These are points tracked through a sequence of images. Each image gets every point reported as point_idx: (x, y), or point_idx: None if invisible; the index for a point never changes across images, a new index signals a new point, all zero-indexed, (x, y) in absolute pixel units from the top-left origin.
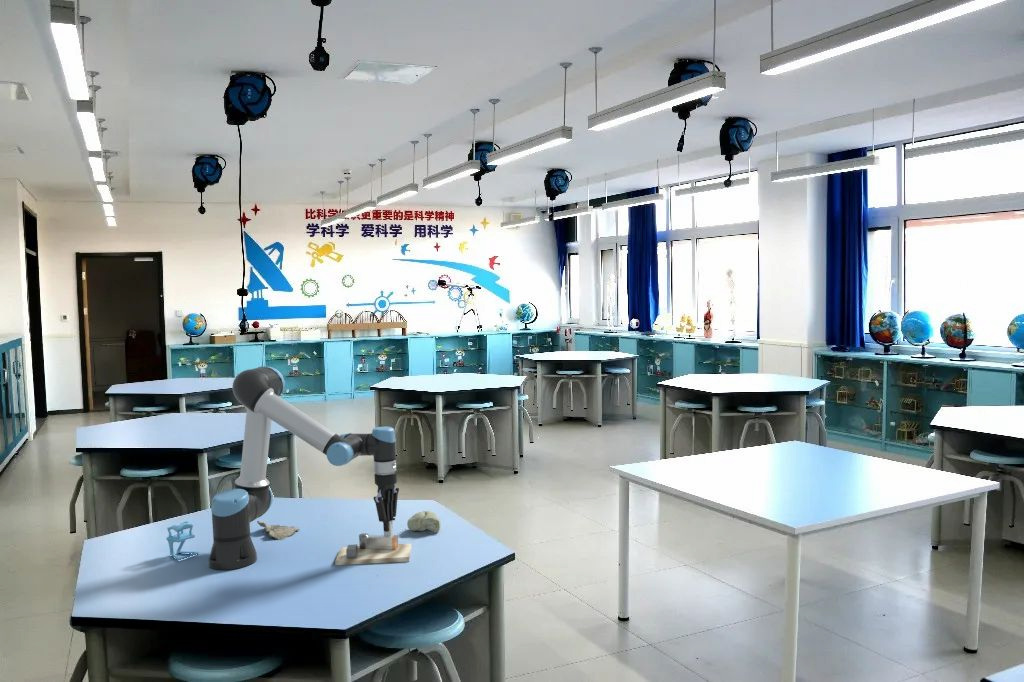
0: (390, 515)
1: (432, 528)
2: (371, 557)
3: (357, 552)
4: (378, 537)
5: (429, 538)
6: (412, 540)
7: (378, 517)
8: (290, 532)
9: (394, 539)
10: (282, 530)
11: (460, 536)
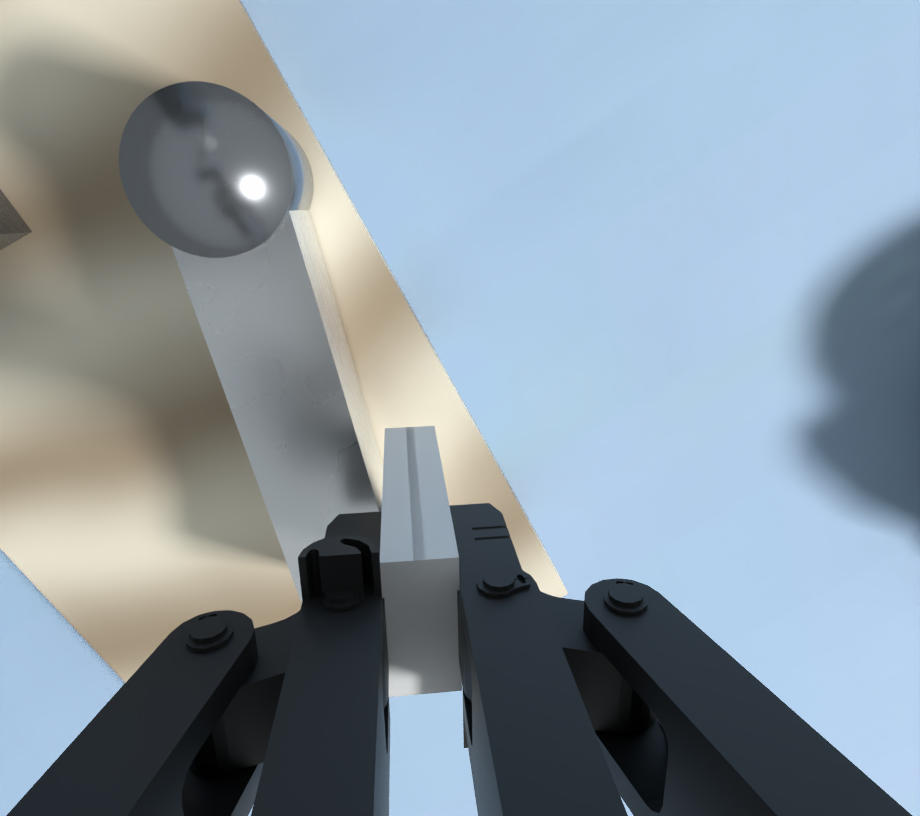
0: (473, 752)
1: None
2: (4, 482)
3: (4, 243)
4: (253, 446)
5: (833, 566)
6: (754, 459)
7: (110, 703)
8: None
9: None
10: None
11: (911, 746)
